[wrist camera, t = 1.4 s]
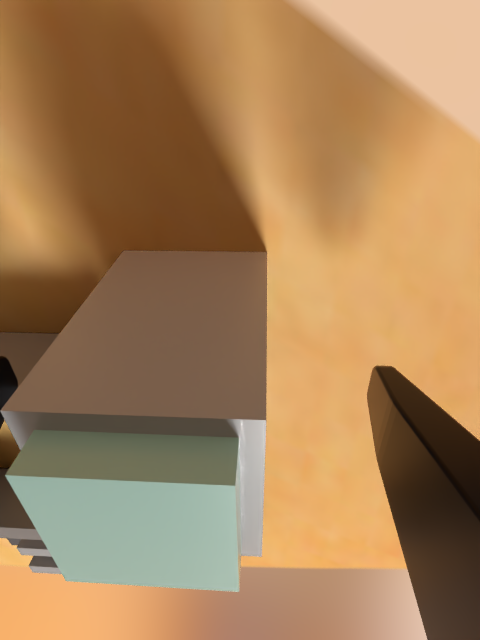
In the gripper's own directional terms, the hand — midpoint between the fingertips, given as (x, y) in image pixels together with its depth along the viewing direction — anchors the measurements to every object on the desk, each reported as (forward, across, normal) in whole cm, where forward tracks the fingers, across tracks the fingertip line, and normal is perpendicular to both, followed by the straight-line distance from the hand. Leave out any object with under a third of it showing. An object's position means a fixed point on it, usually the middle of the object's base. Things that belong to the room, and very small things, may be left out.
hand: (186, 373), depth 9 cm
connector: (+3, 0, 0) cm, 3 cm away
